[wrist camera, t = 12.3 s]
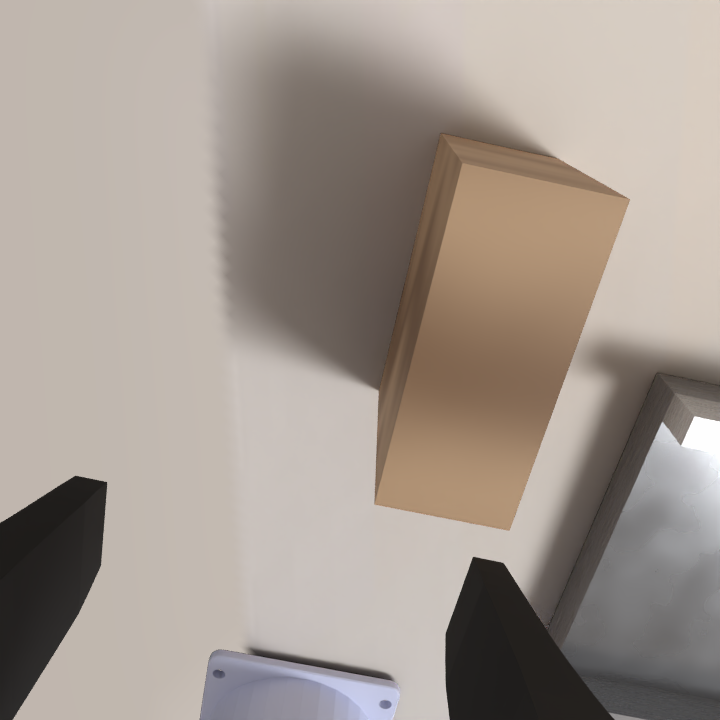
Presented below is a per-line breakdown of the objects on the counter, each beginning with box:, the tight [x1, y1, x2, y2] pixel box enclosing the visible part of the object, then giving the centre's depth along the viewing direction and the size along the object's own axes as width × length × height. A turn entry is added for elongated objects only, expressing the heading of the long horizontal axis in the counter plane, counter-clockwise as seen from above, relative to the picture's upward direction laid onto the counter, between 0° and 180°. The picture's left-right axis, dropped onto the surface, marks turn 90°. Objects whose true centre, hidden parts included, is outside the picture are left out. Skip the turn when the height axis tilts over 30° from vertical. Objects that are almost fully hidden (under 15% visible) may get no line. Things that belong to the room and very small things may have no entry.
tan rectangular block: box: [375, 133, 630, 530], centre depth 18 cm, size 8×4×6 cm, turn 168°
